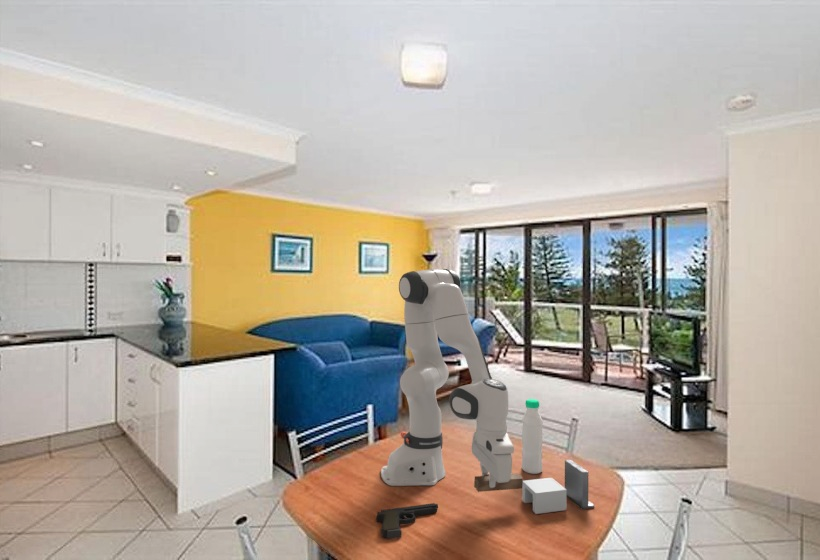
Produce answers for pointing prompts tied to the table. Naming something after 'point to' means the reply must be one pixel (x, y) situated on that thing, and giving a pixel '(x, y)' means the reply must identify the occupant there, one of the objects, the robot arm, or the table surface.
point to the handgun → (401, 518)
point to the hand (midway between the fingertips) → (488, 482)
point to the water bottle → (532, 438)
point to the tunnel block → (544, 495)
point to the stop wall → (577, 484)
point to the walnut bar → (513, 483)
